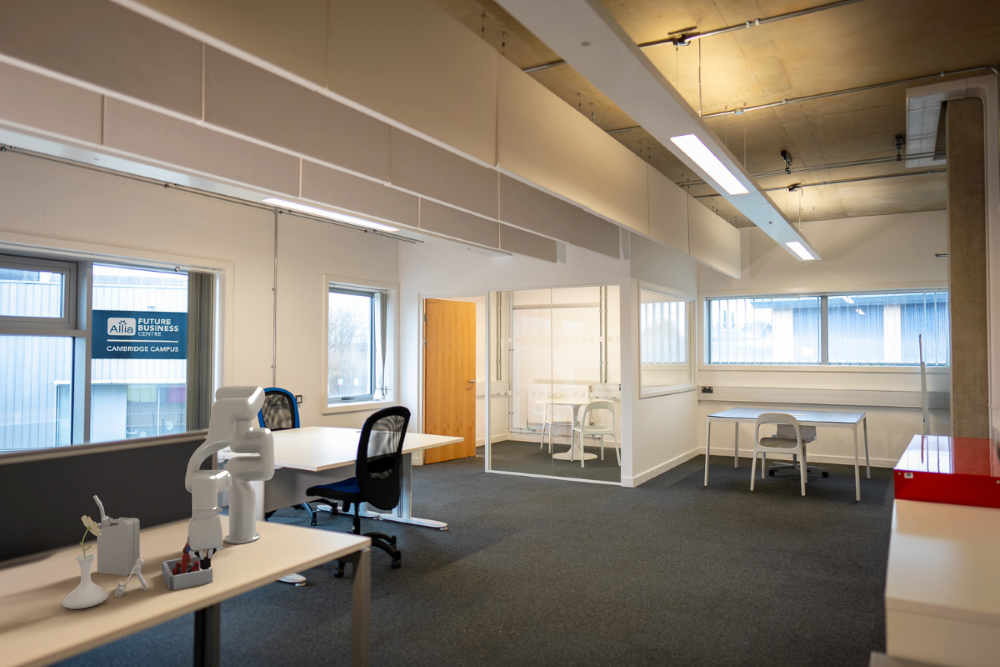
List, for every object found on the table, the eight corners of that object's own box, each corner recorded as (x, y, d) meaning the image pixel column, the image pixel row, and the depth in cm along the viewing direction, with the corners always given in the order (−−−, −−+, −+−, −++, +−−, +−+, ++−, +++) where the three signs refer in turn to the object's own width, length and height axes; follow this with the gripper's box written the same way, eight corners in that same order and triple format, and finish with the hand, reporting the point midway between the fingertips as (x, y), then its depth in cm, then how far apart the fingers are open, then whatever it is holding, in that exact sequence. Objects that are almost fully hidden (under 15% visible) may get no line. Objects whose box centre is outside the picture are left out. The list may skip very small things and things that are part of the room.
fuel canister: (90, 572, 218) (90, 496, 218) (103, 567, 222) (103, 492, 223) (127, 576, 213) (126, 498, 214) (139, 571, 218) (139, 495, 218)
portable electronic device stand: (119, 588, 203) (118, 560, 203) (148, 584, 206) (147, 557, 206) (115, 597, 195) (115, 569, 195) (145, 593, 198) (145, 565, 198)
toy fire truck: (170, 585, 204) (170, 551, 204) (177, 572, 216) (177, 540, 216) (195, 582, 206) (194, 549, 206) (201, 570, 218) (200, 538, 218)
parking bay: (162, 573, 215) (162, 561, 215) (202, 566, 221) (202, 554, 221) (170, 590, 200) (170, 577, 200) (212, 582, 206) (212, 569, 207)
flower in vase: (109, 606, 188) (109, 518, 188) (61, 616, 182) (61, 524, 182) (107, 592, 199) (107, 509, 199) (62, 601, 193) (62, 515, 193)
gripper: (226, 507, 221) (227, 562, 221) (177, 514, 213) (178, 572, 213) (232, 512, 215) (232, 568, 215) (181, 519, 207) (182, 578, 206)
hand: (205, 570), depth 214 cm, fingers closed
